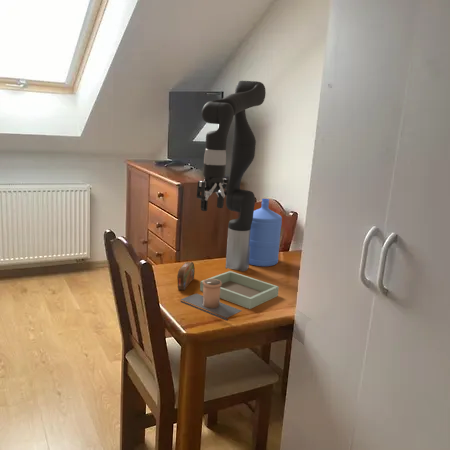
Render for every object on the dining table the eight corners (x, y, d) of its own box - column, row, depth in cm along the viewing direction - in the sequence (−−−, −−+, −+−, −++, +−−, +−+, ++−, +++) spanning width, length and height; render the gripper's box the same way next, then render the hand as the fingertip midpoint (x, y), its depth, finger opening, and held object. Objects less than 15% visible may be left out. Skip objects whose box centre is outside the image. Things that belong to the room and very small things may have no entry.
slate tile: (196, 296, 169) (196, 293, 168) (241, 313, 157) (242, 310, 156) (180, 302, 162) (180, 299, 162) (226, 320, 150) (226, 317, 150)
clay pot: (209, 299, 164) (211, 277, 162) (224, 305, 160) (225, 282, 158) (197, 304, 159) (198, 281, 157) (212, 310, 155) (213, 286, 153)
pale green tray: (229, 281, 185) (230, 270, 183) (277, 298, 171) (278, 286, 170) (199, 293, 171) (200, 281, 170) (249, 311, 158) (250, 299, 157)
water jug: (268, 269, 202) (274, 204, 196) (236, 261, 210) (240, 198, 203) (283, 261, 215) (289, 199, 209) (252, 253, 223) (257, 194, 216)
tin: (183, 294, 169) (184, 271, 167) (175, 293, 170) (176, 270, 168) (194, 280, 184) (196, 259, 182) (187, 279, 184) (188, 258, 182)
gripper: (219, 160, 171) (216, 205, 175) (192, 162, 161) (190, 209, 164) (236, 163, 167) (233, 208, 171) (209, 165, 156) (206, 213, 160)
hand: (212, 209), depth 168 cm, fingers open, 8 cm apart
